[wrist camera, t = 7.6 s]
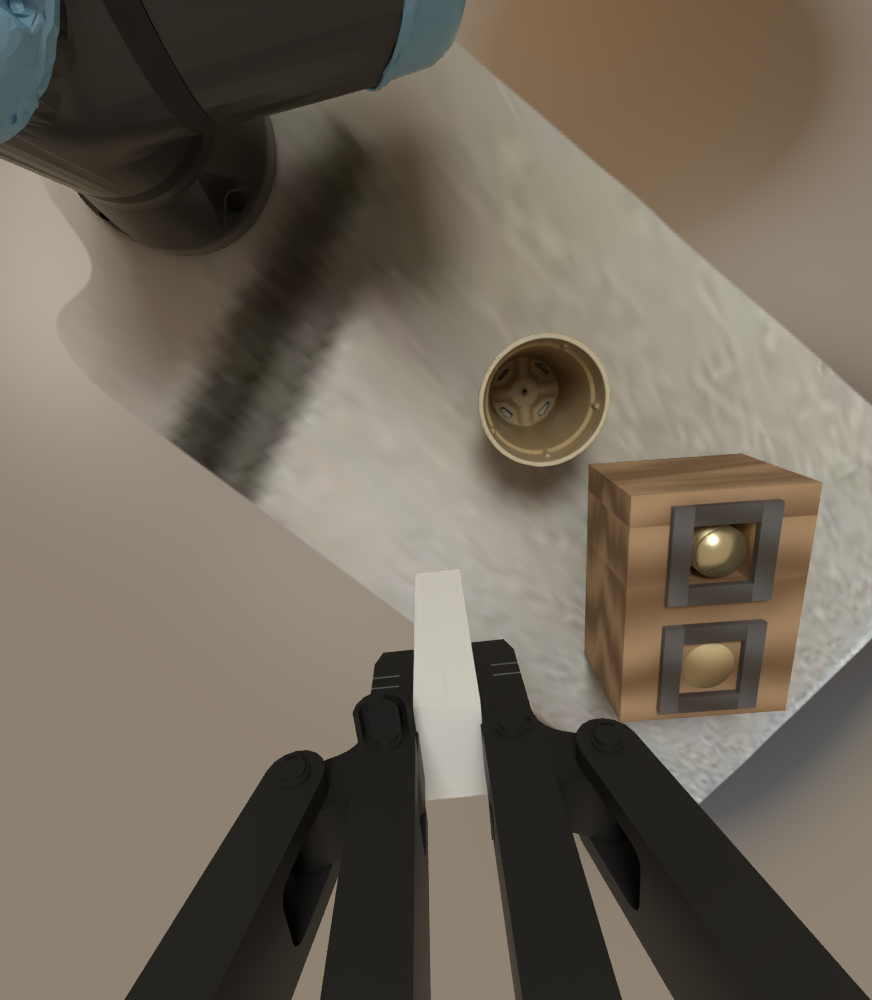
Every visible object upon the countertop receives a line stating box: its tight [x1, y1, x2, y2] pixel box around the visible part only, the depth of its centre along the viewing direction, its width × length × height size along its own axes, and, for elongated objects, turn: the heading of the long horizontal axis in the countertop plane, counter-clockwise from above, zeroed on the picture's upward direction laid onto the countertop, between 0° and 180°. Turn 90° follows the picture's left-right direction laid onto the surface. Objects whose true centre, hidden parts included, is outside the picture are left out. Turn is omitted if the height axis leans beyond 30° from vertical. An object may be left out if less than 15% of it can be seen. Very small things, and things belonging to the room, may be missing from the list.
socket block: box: [585, 454, 822, 722], centre depth 45 cm, size 20×14×11 cm
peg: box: [691, 524, 747, 577], centre depth 43 cm, size 4×4×8 cm
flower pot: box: [478, 333, 610, 467], centre depth 41 cm, size 9×9×9 cm
